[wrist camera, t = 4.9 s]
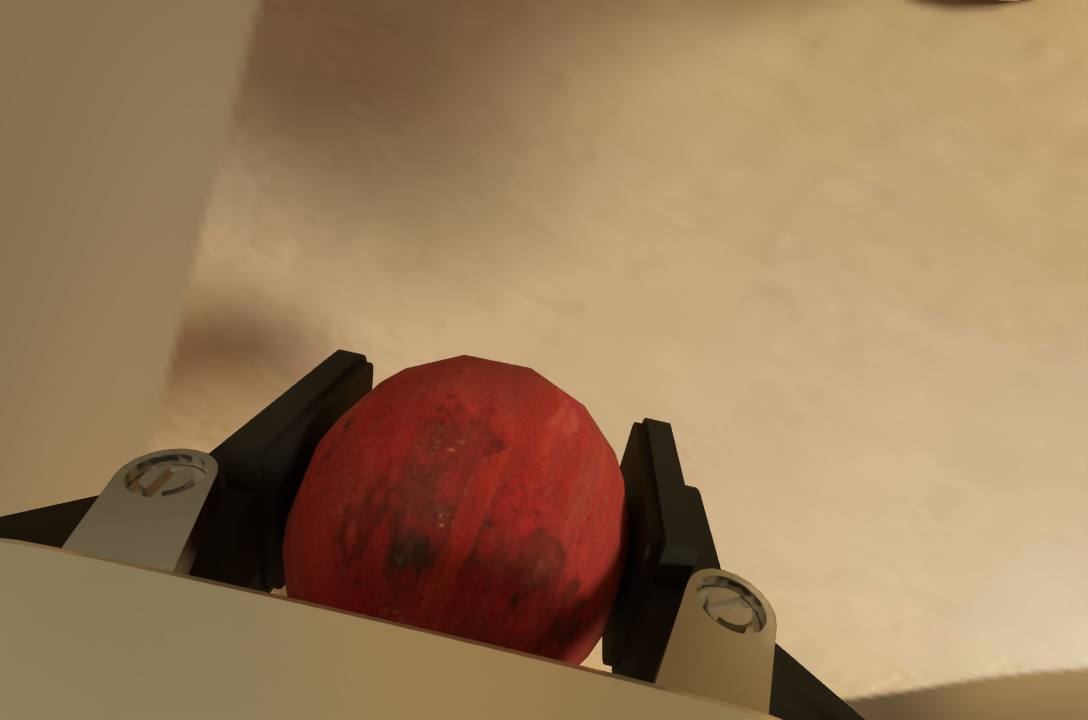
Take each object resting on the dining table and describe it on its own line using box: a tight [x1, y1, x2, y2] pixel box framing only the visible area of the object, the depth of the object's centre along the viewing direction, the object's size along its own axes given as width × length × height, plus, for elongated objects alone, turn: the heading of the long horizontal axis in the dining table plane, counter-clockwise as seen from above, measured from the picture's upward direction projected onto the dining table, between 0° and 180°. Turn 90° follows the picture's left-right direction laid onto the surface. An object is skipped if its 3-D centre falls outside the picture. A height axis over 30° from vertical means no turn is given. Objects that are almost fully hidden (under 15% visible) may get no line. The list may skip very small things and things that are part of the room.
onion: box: [282, 355, 630, 665], centre depth 9 cm, size 6×6×8 cm
